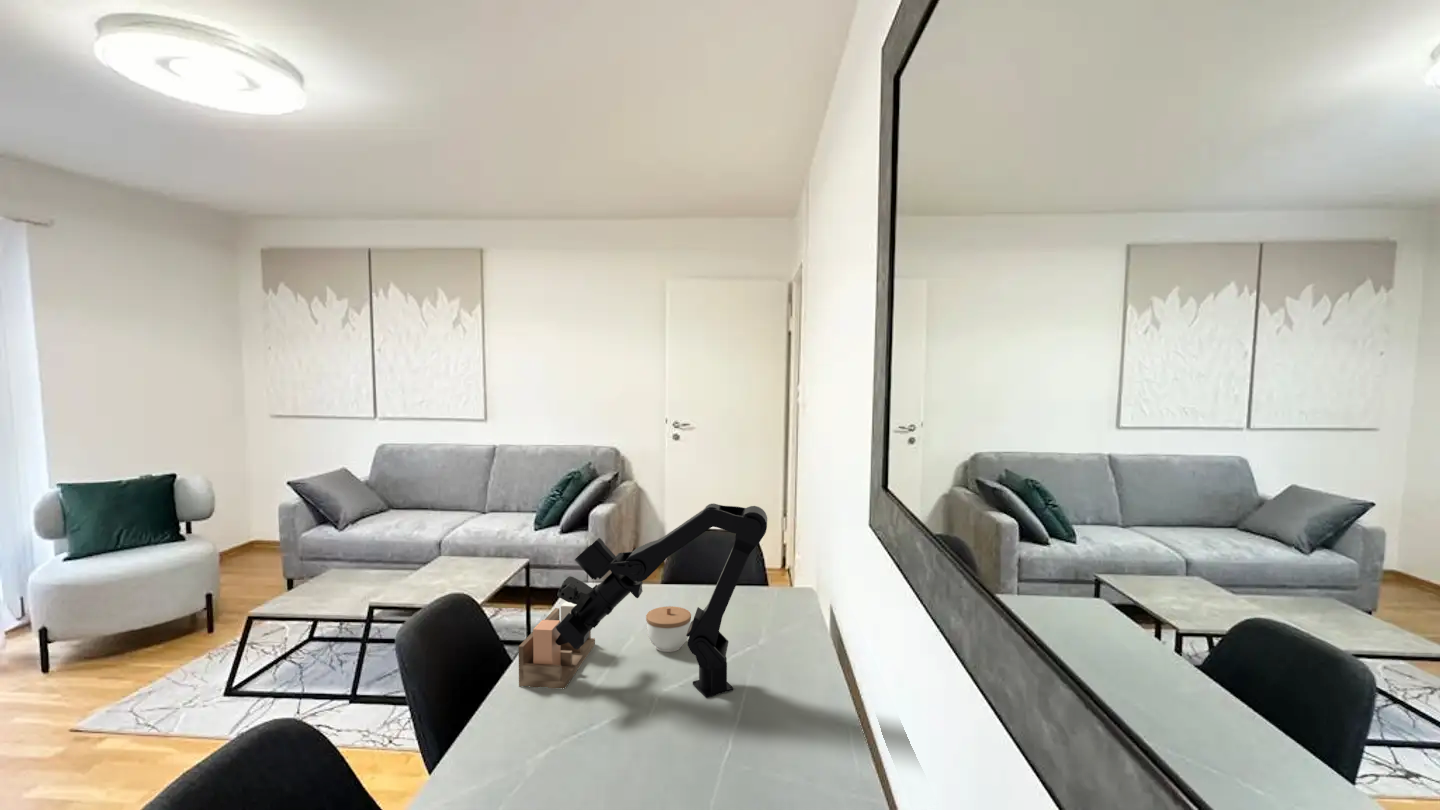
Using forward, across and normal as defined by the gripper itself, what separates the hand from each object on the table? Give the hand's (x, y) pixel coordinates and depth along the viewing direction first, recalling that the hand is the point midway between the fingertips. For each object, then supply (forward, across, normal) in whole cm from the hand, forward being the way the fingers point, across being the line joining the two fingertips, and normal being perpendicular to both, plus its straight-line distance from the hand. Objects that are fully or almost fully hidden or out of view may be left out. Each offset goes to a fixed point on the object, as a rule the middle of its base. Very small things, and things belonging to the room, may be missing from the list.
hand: (557, 643), depth 128 cm
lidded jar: (-9, -18, +20) cm, 29 cm away
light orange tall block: (+6, 0, +3) cm, 7 cm away
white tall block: (+5, -13, +4) cm, 14 cm away
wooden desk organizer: (+7, -7, +4) cm, 10 cm away
